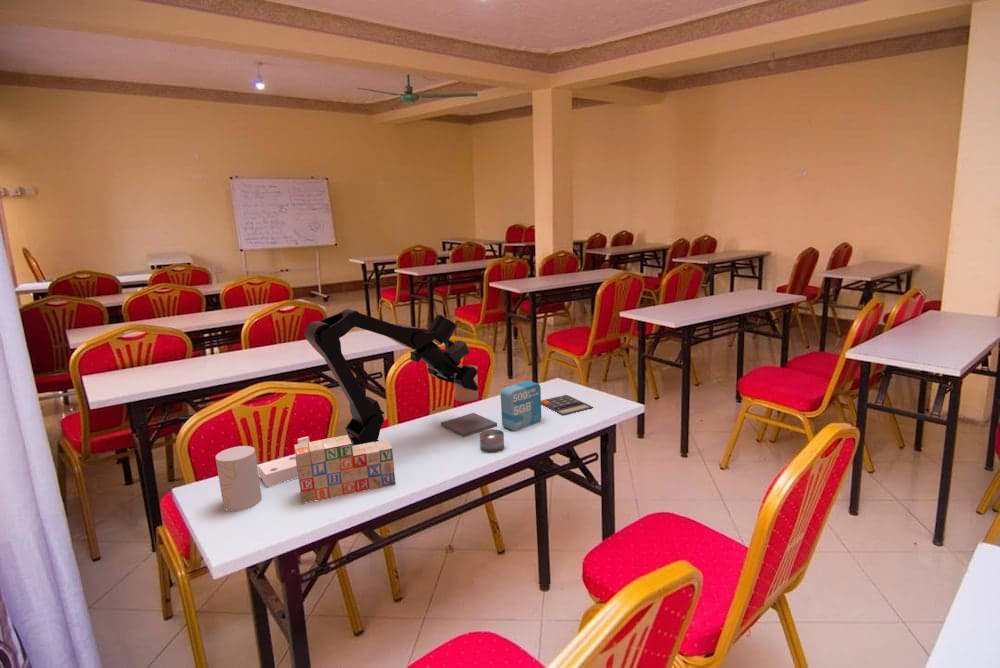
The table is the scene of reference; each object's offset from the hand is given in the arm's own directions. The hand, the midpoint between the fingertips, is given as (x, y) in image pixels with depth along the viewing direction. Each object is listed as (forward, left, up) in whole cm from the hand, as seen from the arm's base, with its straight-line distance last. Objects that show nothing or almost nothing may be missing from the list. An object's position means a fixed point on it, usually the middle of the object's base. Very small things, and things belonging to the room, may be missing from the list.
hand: (470, 386), depth 173 cm
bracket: (-53, 0, -12) cm, 54 cm away
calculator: (+32, -4, -12) cm, 34 cm away
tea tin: (-4, -18, -12) cm, 22 cm away
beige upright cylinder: (-65, -8, -12) cm, 67 cm away
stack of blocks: (-43, -17, -12) cm, 48 cm away
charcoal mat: (-1, 0, -12) cm, 12 cm away
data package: (+12, -9, -12) cm, 19 cm away
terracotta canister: (-1, 0, -3) cm, 3 cm away
